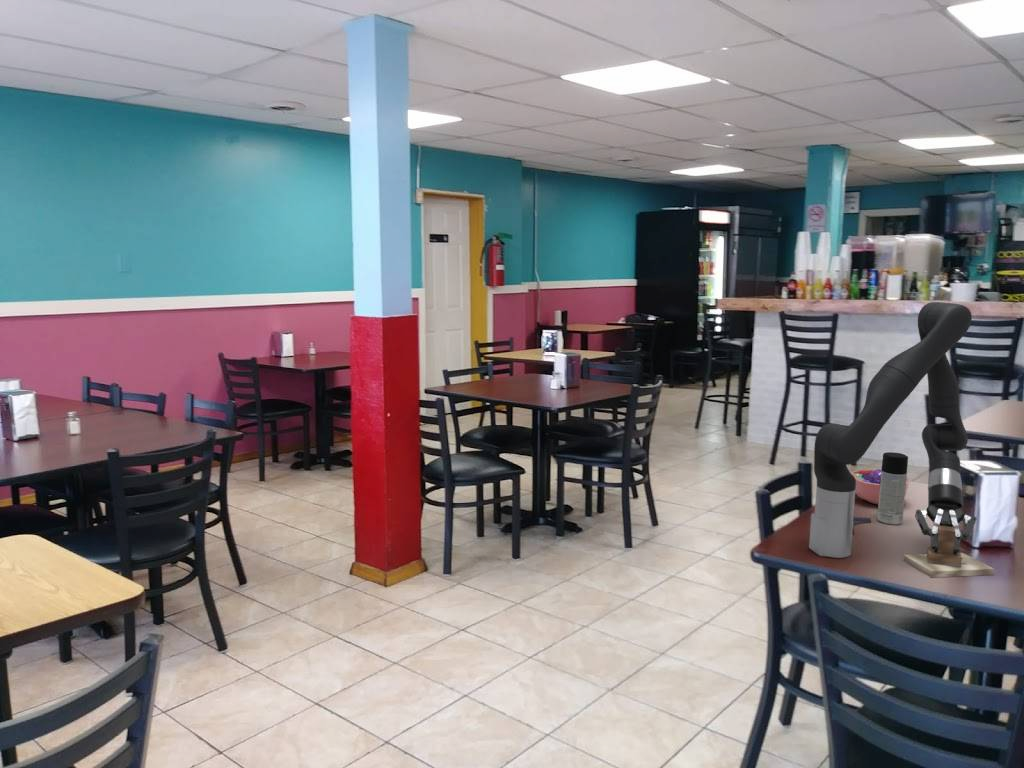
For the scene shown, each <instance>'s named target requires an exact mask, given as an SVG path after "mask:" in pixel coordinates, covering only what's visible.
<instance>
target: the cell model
mask: <svg viewBox="0 0 1024 768" xmlns="http://www.w3.org/2000/svg"><path fill="white" fill-rule="evenodd" d="M881 469H882V468H877V469H869V470H868V469H866V470H865V469H864V470H861V469H859V470H854V471H851V472H850V473H851V474H852V475H853V476H854V478H855V480H856V490H855V495H856V496H857V497H858V498H860V499H861V500H864V501H867V502H869V503H871V504H873V505H878V504H879V493H880V481H881ZM910 481H911V480H910V478H909V477H907V478H906V488H905V497H906V495H907V492H908V488H909V484H910Z"/></svg>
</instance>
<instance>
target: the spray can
mask: <svg viewBox="0 0 1024 768" xmlns="http://www.w3.org/2000/svg"><path fill="white" fill-rule="evenodd" d="M908 463H909V456H907V454H904V453H901V452H889V451H888V452H884V453H883V454H882V461H881V468H880V469H881V481H880V493H879V504H878V507H877V521H878V522H879V523H882V524H886V525H894V526H895V525H896V526H897V525H901V524H902V523H903V520H904V510H905V498H906V496H905V488H906V478H907V476H908V466H909V464H908Z"/></svg>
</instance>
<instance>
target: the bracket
mask: <svg viewBox="0 0 1024 768" xmlns="http://www.w3.org/2000/svg"><path fill="white" fill-rule="evenodd" d="M871 523H872V518H871V517H860V516H854V517H853V531H852V536H854V534H855V528H854V526H857V525H860V524H871Z"/></svg>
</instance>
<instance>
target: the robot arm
mask: <svg viewBox="0 0 1024 768" xmlns="http://www.w3.org/2000/svg"><path fill="white" fill-rule="evenodd" d="M971 324H972V312H971V310H970V308H968V307H967V306H966V305H963V304H960V303H953V302H952V303H951V302H939V301H934V302H933V301H932V302H928V303H926V304H924V305H923V306H922V307H921V309H920V310H919V312H918V315H917V327H918V335H919V338H920V339H919V340H920V341H919V342H917V343H916V344H915V345H912V346H911V347H909V348H908V349H905V350H904V351H902V352H900V353H898V354H897V355H895V356H894V357H892V358H890V359H889V360H887V361H886V362H885V363H884V364H883V365H882V367H881V368H880V369H879V370H878V371H877V373H876V374H874V376H873V377H872V379H871V380H870V382H869V385H868V386H867V387H868V388H867V390H866V398H865V402H864V406H863V408H862V410H861V411H860V412H859V414H858V415H857V417H856V418H855V419H854V420H853V421H852V422H851V423H850V424H849V425H848V426H845V425H841V424H838V423H827V424H824V425H823V426H821V428H820V429H819V430H818V432H817V434H816V435H815V436H816V437H815V440H814V448H813V451H814V455H813V460H814V461H813V470H814V471H813V472H814V475H815V479H816V488H815V489H816V490H815V505H814V512H813V513H811V515H810V529H809V542H808V543H809V544H808V548H809V549H810V550H811V551H812V552H813V553H816V555H818V556H819V557H829V558H839V559H841V558H848V557H850V556H851V555H852V548H853V547H852V544H853V543H852V542H853V535H852V531H853V527H854V525H853V517H855V516H854V515H855V501H856V493H855V490H856V480H855V478H854V476H853V475H852V474H851V473H852V472H850V471H849V468H848V466H847V465H852V464H855V463H857V462H858V461H860V459H861V458H863V457H864V455H865V454H866V452H867V451H868V449H869V448H870V446H871V445H872V443H873V442H874V441H875V439H876V438H877V436H878V435H879V433H880V431H881V430H882V428H883V427H884V426H885V424H886V423H887V422H888V421H889V419H890V418H891V417H892V416H893V415H894V413H895V412H896V411H897V409H899V407H900V406H901V405H902V403H904V402H905V400H906V399H907V398H908V397H909V396H910V395H911V393H913V391H914V390H915V389H916V388H917V386H918V385H919V383H920V382H921V381H922V380H923V379H924V377H925V376H926V377H927V384H928V389H927V391H928V392H927V393H928V410H929V414H930V415H931V416H932V417H933V416H934V417H936V418H941V419H944V420H945V419H946V420H948V421H949V422H950V423H930V424H927V425H926V426H924V427H923V429H922V432H921V439H922V443H923V445H924V447H925V450H926V453H927V457H928V461H929V462H928V463H929V468H928V469H929V474H928V475H929V476H928V483H927V484H928V485H927V493H928V494H927V495H928V497H927V501H928V502H927V507H926V509H925V510H921V509H916V510H915V515H914V516H915V520H916V522H917V524H918V526H919V528H920V530H921V533H922V534H923V535H925V536H928V537H930V547H931V548H932V549H934V552H937V551H938V535H937V532H938V526H947V527H953V528H954V529H955V532H956V533H955V543H954V551H953V554H957V552H958V553H959V551H961V541H962V540H963V541H967V540H968V539H969V536H970V534H971V532H972V530H973V528H974V526H975V524H976V522H977V516H975V515H972V516H970V515H967V514H966V513H965V511H964V510H963V509H964V508H963V484H962V482H963V481H962V477H961V461H960V457H959V456H958V455H957V454H956V453H953V452H951V451H955V452H957V451H958V452H960V451H963V450H964V449H965V448H966V446H967V444H968V441H969V439H968V438H969V437H968V433H967V429H966V428H965V426H964V422H963V419H962V415H961V411H960V387H959V383H958V379H957V375H956V374H955V372H954V369H953V368H952V366H951V364H950V362H949V360H948V357H947V354H946V353H948V352H949V351H950V350H951V349H952V348H953V347H954V346H955V345H956V344H957V343H958V342H959V341H961V339H962V338H963V337H964V336H965V335H966V333H967V332H968V330H969V329H970V326H971ZM927 517H928V518H929V520H931V522H932V523H933V526H932V528H930V527H929V525H928V523H927V520H926V518H927ZM963 520H964V524H965V526H966V527H965V529H964V531H963V532H961V531H960V526H959V524H960V523H961V522H962V521H963Z"/></svg>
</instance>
